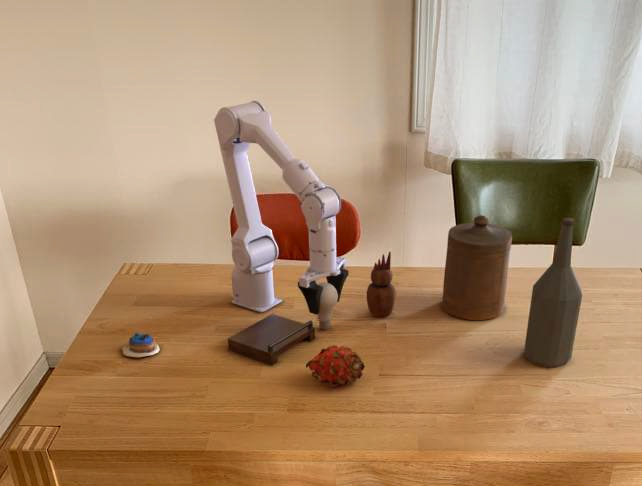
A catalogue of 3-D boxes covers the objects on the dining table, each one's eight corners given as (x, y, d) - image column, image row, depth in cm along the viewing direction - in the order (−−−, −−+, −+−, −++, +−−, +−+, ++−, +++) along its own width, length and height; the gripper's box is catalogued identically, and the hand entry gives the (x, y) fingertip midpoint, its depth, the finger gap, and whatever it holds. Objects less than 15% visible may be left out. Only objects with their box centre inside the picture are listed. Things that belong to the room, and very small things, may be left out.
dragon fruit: (368, 393, 160) (311, 395, 162) (370, 355, 163) (314, 358, 165) (359, 376, 152) (299, 378, 155) (361, 336, 155) (302, 339, 157)
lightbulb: (342, 326, 181) (341, 280, 175) (332, 337, 176) (331, 291, 170) (317, 321, 183) (316, 276, 176) (307, 332, 178) (305, 286, 171)
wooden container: (514, 304, 193) (525, 213, 179) (486, 326, 182) (496, 232, 169) (460, 289, 199) (467, 201, 186) (430, 310, 189) (436, 218, 176)
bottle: (575, 352, 173) (600, 215, 155) (564, 372, 166) (589, 231, 148) (530, 342, 176) (549, 207, 159) (517, 361, 169) (535, 222, 151)
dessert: (167, 348, 169) (148, 331, 164) (148, 372, 168) (129, 357, 164) (148, 337, 174) (129, 321, 169) (130, 361, 173) (110, 346, 168)
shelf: (228, 350, 171) (226, 331, 168) (273, 324, 181) (271, 307, 178) (271, 365, 166) (270, 346, 163) (315, 338, 176) (314, 320, 173)
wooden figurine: (396, 309, 189) (398, 248, 180) (394, 320, 184) (395, 258, 175) (368, 308, 189) (368, 246, 180) (365, 318, 184) (365, 256, 175)
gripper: (317, 262, 162) (319, 323, 170) (357, 241, 171) (357, 300, 179) (290, 254, 164) (293, 315, 173) (331, 234, 174) (332, 292, 182)
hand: (324, 307), depth 176 cm, fingers open, 7 cm apart
